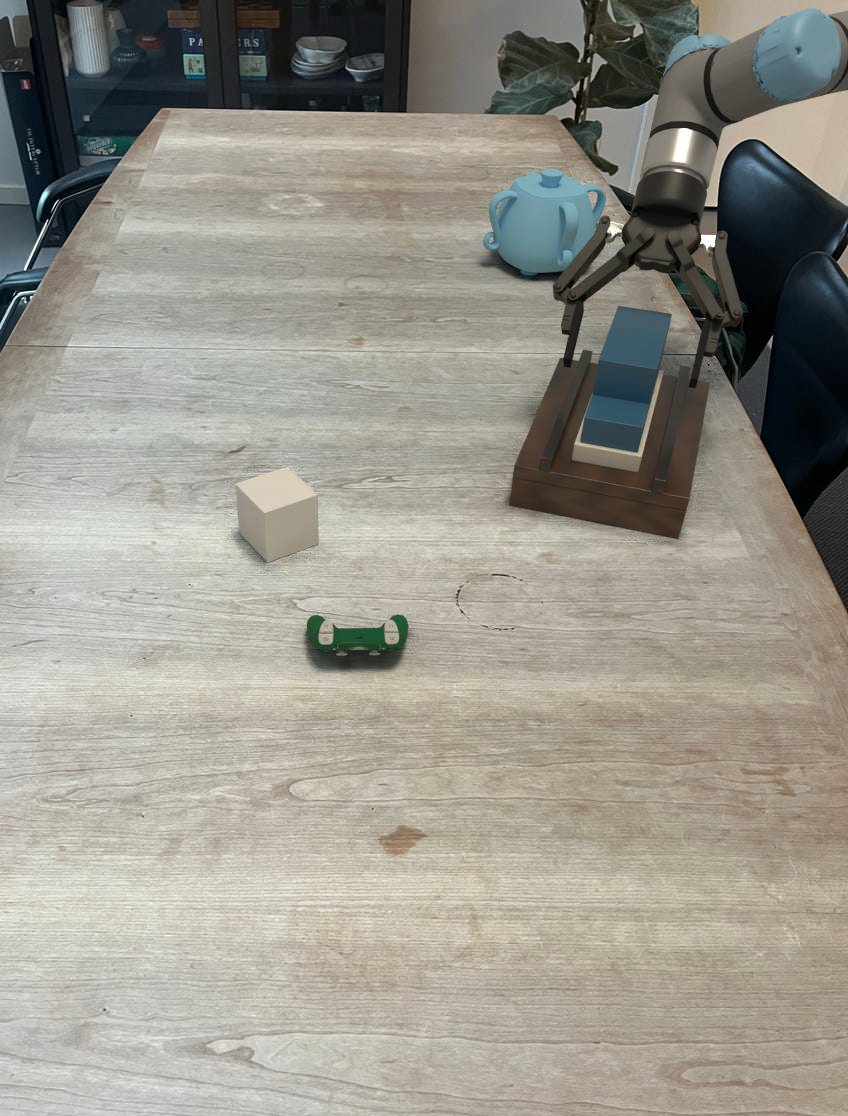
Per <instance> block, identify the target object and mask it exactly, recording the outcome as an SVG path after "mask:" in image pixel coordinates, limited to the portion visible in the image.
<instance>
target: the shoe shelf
mask: <svg viewBox="0 0 848 1116" xmlns="http://www.w3.org/2000/svg"><path fill="white" fill-rule="evenodd" d="M593 353H594V352H593V350H589V349H582V351H581V354H580V356H579V359H578V360H577V359H573V360H572V364H571V368H567V367H564V362H563V357H559V359H558V362H557V364H556V366H555V367H554V370H553V373H552V375H551V378H550V380H549V382H548V385H547V387H546V390H545V392H544V395H543V397H542V399H541V401H540V404H539V406H538V409H537V411H536V413H535V416H534V418H533V420H532V422H531V425H530V427H529V430H528V432H527V434H526V437H525V440H524V441H523V444H522V446H521V448H520V451H519V454H518V455H517V458H516V461H515V463H514V466H513V471H512V472H513V474H512V481H511V487H510V496H509V503H508V505H509V506H513V507H518V508H522V509H523V508H524V509H528V510H533V511H538V512H542V513H543V512H544V513H547V514H553V515H558V516H562V517H568V518H574V519H578V520H582V521H588V522H593V523H599V524H604V525H608V526H613V527H619V528H624V529H628V530H633V531H639V532H643V533H649V534H653V535H658V536H664V537H668V538H674V539H679V538H680V535H681V532H682V528H683V524H684V520H685V517H686V514H687V509H688V505H689V504H690V503H689V502H690V499H691V493H692V487H693V481H694V476H695V470H696V464H697V460H698V458H697V457H698V453H699V449H700V448H699V447H700V443H701V437H702V431H703V427H704V420H705V415H706V414H705V413H706V409H707V404H708V397H709V391H710V387H711V382H710V381H705V380H700V379H698V382H697V385H696V388H690V387H689V383H690V378H689V377H690V372H691V368H692V367H691V366H687V365H682V364H681V365H680V366H679V370H678V374H677V376H675V375H670V374H669V375H668V374H663V377H662V381H661V386H660V389H659V393H658V397H657V401H656V405H655V409H654V413H653V417H652V421H651V425H650V429H649V433H648V437H647V440H646V444H645V448H644V452H643V456H642V460H641V464H640V468H639V472H632V471H627V470H621V469H616V468H611V467H605V466H600V465H595V464H589V463H584V462H579V461H573V460H572V454H573V449H574V444H575V441H576V438H577V435H578V432H579V429H580V427H581V424H582V421H583V418H584V415H585V413H586V410H587V407H588V404H589V401H590V398H591V396H592V393H593V388H594V383H595V377H596V372H597V366H598V363H595V362H592V358H593Z"/></svg>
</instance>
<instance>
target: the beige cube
mask: <svg viewBox="0 0 848 1116" xmlns="http://www.w3.org/2000/svg"><path fill="white" fill-rule="evenodd" d="M234 486H235V496H236V497H235V499H236V509H237V511H236V512H237V521H238V533H239V534H240V535H241V536H242V537H243V539H244V540H245V541H246V542H247V543H248V544H249V545H250V546H251V547H252V548H253V549H254V550H255V552H257V554H259V556H260V557H261V558H262V559H263V560H264V561H265V562H266V563H271V562H273V561H277V560H279V559H281V558H284V557H287V556H291V555H292V554H295V553H298V552H301V551H303V550H306V549H308V548H312V547H315V546H317V545H319V543H320V541H319V540H320V539H319V538H320V536H319V532H320V531H319V529H320V528H319V494H318V493H317V492H316V491H314V489H312V488H311V487H310V486H309V485H308V484H307V483H306V481H304V480H303V479H302V478H300V477H299V476H298V475H297V474H296V473H295V472H294V471H293V470H292V469H291V468H290V467H289V466H285V467H281V468H280V469H277V470H273V471H270V472H267V473H264V474H261V475H257V476H255V477H252V478H249V479H246V480H242V481H239V482H236V483H235V485H234Z"/></svg>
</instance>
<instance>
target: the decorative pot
mask: <svg viewBox="0 0 848 1116" xmlns="http://www.w3.org/2000/svg"><path fill="white" fill-rule="evenodd" d="M592 192H593V193H596V194H597V196H596V202H595V205H594V207H592V204H591V200H590V197H589V194H588V193H592ZM606 202H607V195H606V192H605V190H604V189H603V187H601V186H599V185H597V184H595V183H587V184H586V183H585V184H582V183H581V182H580V181H579V180H578V181H577V180H576V179H574V178H573V177H570V176H567V175H564V172H563V171H562V170H560V169H558V168H545V169H542V170H541V171H540V174H539V173H537V172H535V171H527V172H525V173H523V174H522V176H518V177H517V178H515V179H514V181H513V182H512V184H511V185H510V187H509V188H508V189H504V190H501V191H499V192H497V193H496V194H495V195H493V197H492V198H491V199H490V202H489V203H488V217H489V221H490V226H491V228H492V231H488V232H486V233H485V234H484V237H483V239H482V243H483V246H484V249H486V250H489V251H497V252H498V254H499V256H500V257H501V258H502V259H503V260H504V261H505V262H506V263H508V264H509V265H511V266H513V267H514V268H517V269H518V270H520V271H519V273H521V274H522V275H524V276H536V275H537V274H539V273H541V274H542V273H558V272H564V271H565V269H566V268H567V267H568V266H569V264H570V263H571V262H572V261H573V260H574V258H575V257H576V256H577V255H578V253H579V252H580V251H581V250H582V248H583V247H584V246H585V245H586V244H587V242H588V241H589V240H590V239H591V237H592V236H593V235H594V234H595V231H596V228H597V225H598V223H599V220H600V218H601V217H602V214H603V211H604V209H605V206H606ZM499 204H500V205H499ZM498 205H499V208H498ZM497 209H498V210H497ZM491 238H492V240H493V241H492V242H490V240H491Z"/></svg>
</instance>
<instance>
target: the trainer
mask: <svg viewBox="0 0 848 1116" xmlns="http://www.w3.org/2000/svg"><path fill="white" fill-rule="evenodd" d="M672 317H673V313H671V312H670V313H669V312H662V311H657V310H650V309H643V308H637V307H636V308H635V307H629V306H623V305H617V308H616V311H615V314H614V316H613V318H612V321H611V324H610V327H609V330H608V333H607V335H606V338H605V340H604V344H603V347H602V350H601V352H600V355H599V358H598V361H597V364H598V366H597V372H596V377H595V383H594V388H593V393H592V396H591V398H590V401H589V404H588V407H587V410H586V413H585V415H584V418H583V421H582V424H581V427H580V429H579V432H578V435H577V438H576V441H575V444H574V449H573V454H572V460H573V461H579V462H584V463H589V464H595V465H600V466H605V467H611V468H616V469H621V470H627V471H632V472H639V468H640V464H641V460H642V456H643V452H644V448H645V444H646V440H647V437H648V433H649V429H650V425H651V421H652V417H653V413H654V409H655V405H656V401H657V397H658V393H659V389H660V386H661V381H662V377H663V375H664V372H665V370H663V369H661V365H662V360H663V357H664V352H665V347H666V344H667V339H668V334H669V329H670V326H671V325H670V324H671V321H672Z"/></svg>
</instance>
